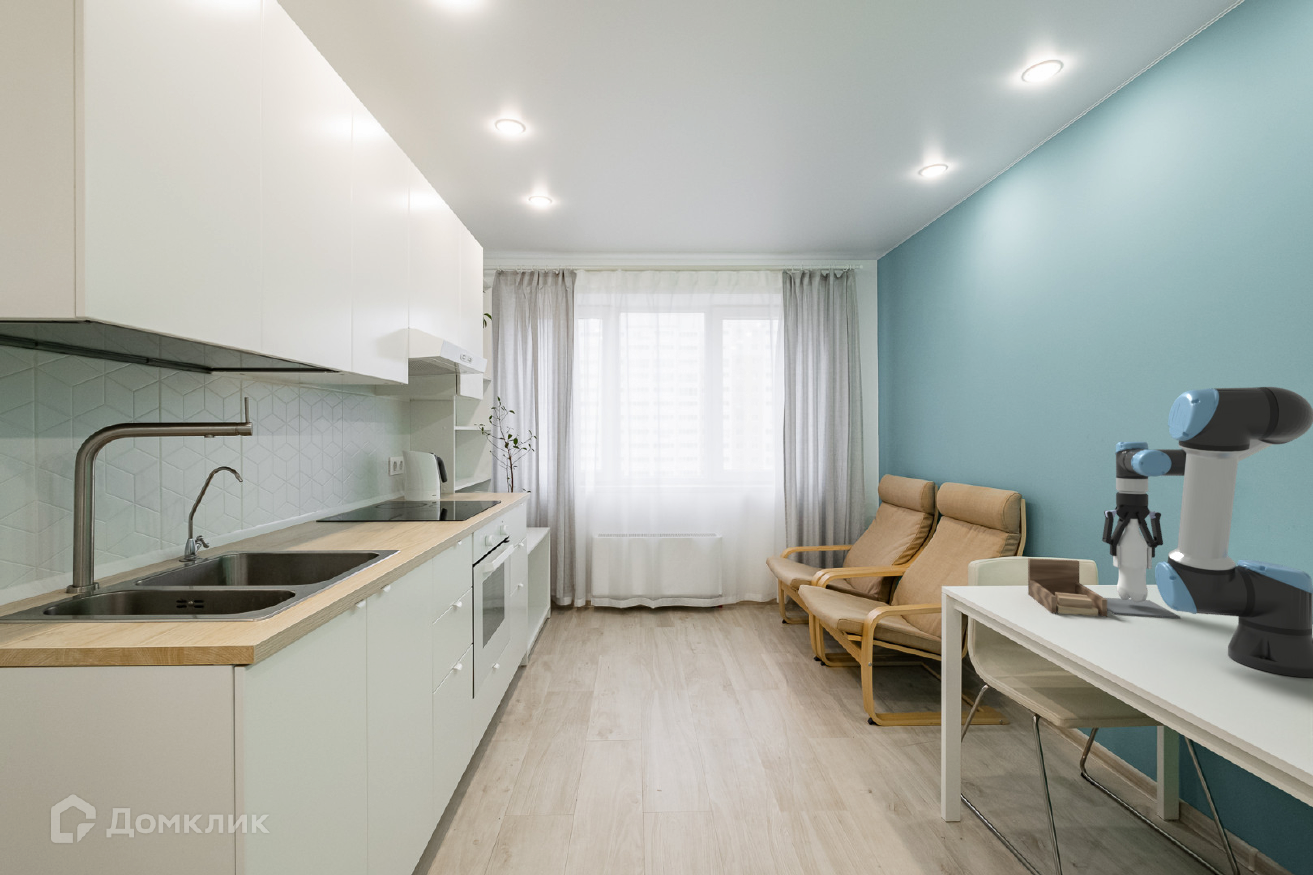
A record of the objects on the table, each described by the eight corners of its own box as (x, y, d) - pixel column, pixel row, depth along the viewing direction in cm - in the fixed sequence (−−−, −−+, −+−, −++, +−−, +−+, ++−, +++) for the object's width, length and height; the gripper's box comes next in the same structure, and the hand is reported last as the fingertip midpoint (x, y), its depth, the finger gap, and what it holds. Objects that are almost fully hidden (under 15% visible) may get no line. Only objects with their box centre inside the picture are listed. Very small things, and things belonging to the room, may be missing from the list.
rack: (1107, 616, 165) (1106, 575, 165) (1051, 612, 169) (1051, 573, 169) (1077, 596, 184) (1077, 560, 184) (1028, 594, 188) (1028, 558, 188)
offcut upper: (1092, 609, 166) (1091, 600, 166) (1059, 605, 170) (1059, 597, 170) (1086, 603, 172) (1086, 595, 172) (1054, 600, 175) (1054, 592, 175)
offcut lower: (1098, 617, 166) (1098, 609, 166) (1058, 615, 169) (1058, 606, 169) (1087, 610, 173) (1087, 602, 173) (1049, 607, 176) (1049, 599, 175)
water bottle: (1154, 603, 169) (1154, 520, 168) (1129, 603, 169) (1129, 520, 169) (1134, 596, 176) (1134, 516, 176) (1111, 596, 176) (1110, 516, 176)
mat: (1180, 618, 162) (1180, 616, 162) (1114, 614, 167) (1114, 612, 167) (1149, 602, 178) (1149, 600, 178) (1089, 598, 182) (1089, 596, 182)
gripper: (1164, 491, 173) (1165, 566, 173) (1087, 490, 178) (1088, 562, 179) (1179, 494, 165) (1179, 572, 166) (1098, 493, 171) (1099, 568, 171)
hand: (1132, 567), depth 172 cm, fingers closed on water bottle, 7 cm apart
